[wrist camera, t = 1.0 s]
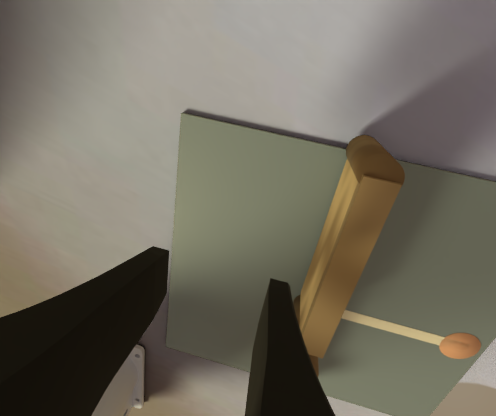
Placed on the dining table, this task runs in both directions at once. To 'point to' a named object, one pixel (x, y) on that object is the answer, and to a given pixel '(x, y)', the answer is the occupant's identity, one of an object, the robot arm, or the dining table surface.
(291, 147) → the card
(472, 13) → the dining table surface
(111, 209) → the dining table surface
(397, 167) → the fence panel
